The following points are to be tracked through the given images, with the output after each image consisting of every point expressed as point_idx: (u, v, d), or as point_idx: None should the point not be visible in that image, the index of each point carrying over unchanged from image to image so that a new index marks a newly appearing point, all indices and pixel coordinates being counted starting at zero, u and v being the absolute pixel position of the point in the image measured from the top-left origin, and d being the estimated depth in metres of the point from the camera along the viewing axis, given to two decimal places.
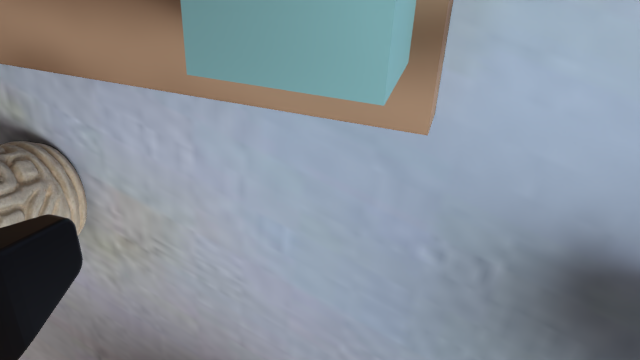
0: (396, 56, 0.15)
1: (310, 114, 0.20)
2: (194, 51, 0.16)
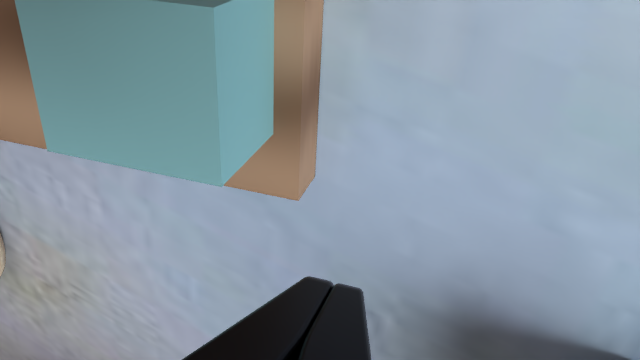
0: (238, 138, 0.16)
1: None
2: (51, 130, 0.17)
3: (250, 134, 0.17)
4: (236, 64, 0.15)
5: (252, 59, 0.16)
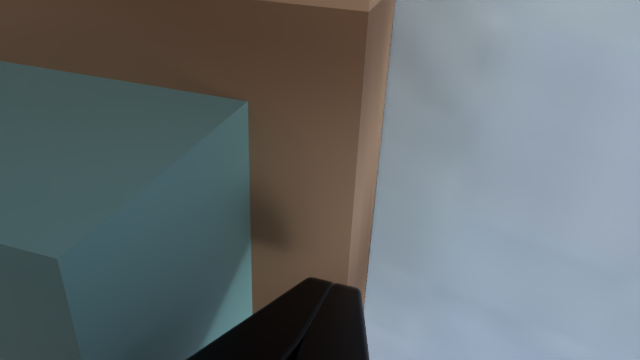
0: None
1: None
2: None
3: None
4: (152, 316, 0.06)
5: (199, 271, 0.07)
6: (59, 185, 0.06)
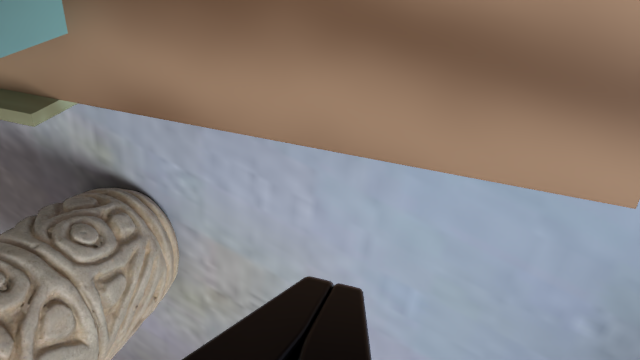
0: None
1: (487, 179, 0.17)
2: None
3: (22, 23, 0.17)
4: None
5: None
6: None
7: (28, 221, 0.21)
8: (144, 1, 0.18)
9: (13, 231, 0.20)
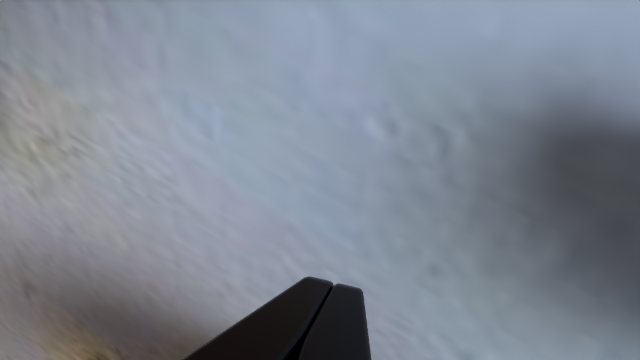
0: None
1: None
2: None
3: None
4: None
5: None
6: None
7: None
8: None
9: None
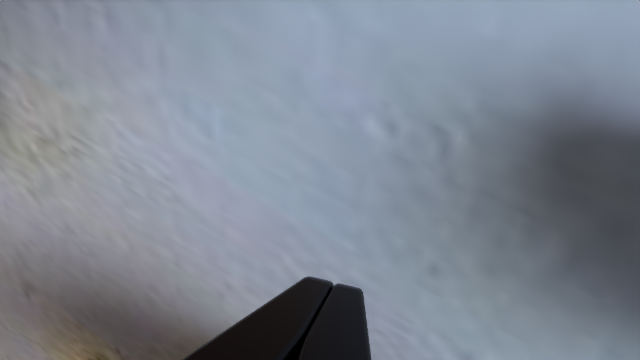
0: None
1: None
2: None
3: None
4: None
5: None
6: None
7: None
8: None
9: None
